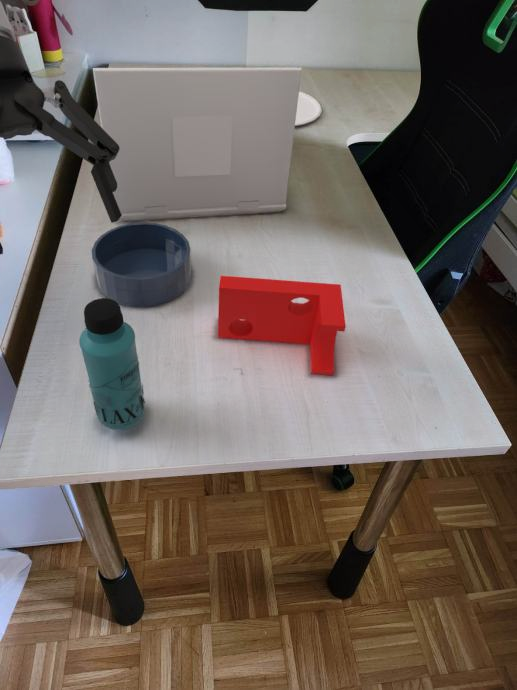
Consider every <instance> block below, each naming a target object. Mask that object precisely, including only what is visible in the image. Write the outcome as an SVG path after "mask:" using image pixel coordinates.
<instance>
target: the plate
mask: <svg viewBox="0 0 517 690" xmlns="http://www.w3.org/2000/svg"><path fill="white" fill-rule="evenodd" d="M322 112H323V110H322V105H321V104H320V103H319V101H318V100H317V99H316V98H314V97H312V96H311V95H309V94H308V93H305V92H303V91H300V90H299V95H298V104H297V112H296V121H295V127H298V126H304V125H307V124H310V123H312V122H314V121H315V120H317V119H318V118H320V116H321V114H322Z"/></svg>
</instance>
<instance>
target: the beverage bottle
mask: <svg viewBox="0 0 517 690" xmlns="http://www.w3.org/2000/svg"><path fill="white" fill-rule="evenodd" d="M83 314H84V315H83V317H84V326H85V328H84V329H83V330H82V331H81V333H80V336H79V339H78V343H79V347H80V350H81V353H82V357H83V362H84V364H85V365H84V366H85V369H86V373H87V378H88V381H87V384H88V383H89V384H88V387H89V389H90V393H91V394H90V395H91V397H92V402H93V403H92V404H93V408H94V411H95V416H96V417H97V420H98V422H100V424H101V425H103V426H104V427H105V428H106V429H109V430H112V431H123V430H127V429H130V428H132V427H134V426H136V425H137V424H138V423H139V422H140V421H141V420H142V418H143V416H144V413H145V411H146V407H145V405H146V401H145V391H144V384H143V383H142V380H141V379H142V378H141V370H140V365H141V364H140V361H139V358H140V356H139V355H138V353H137V344H136V333H135V330H134V329H133V327H132V326H131V325H130V324H129V323H128V322H126V321H124V314H123V313H122V310H121V306H120V304H118V303H117V302H116V301H114V300H112V299H109V298H107V297H103V298H96V299H93V300H91V301H90V302H88V303H87V304H86V305H85V307H84V310H83Z"/></svg>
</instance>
